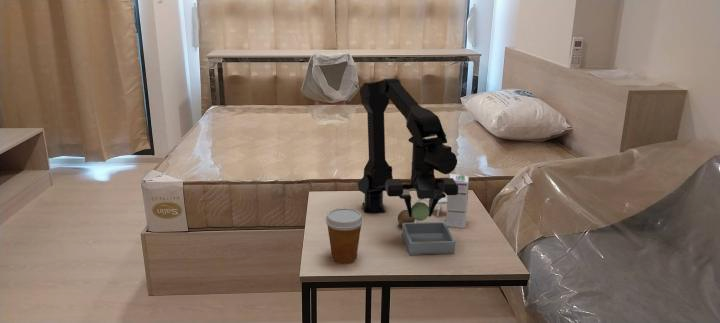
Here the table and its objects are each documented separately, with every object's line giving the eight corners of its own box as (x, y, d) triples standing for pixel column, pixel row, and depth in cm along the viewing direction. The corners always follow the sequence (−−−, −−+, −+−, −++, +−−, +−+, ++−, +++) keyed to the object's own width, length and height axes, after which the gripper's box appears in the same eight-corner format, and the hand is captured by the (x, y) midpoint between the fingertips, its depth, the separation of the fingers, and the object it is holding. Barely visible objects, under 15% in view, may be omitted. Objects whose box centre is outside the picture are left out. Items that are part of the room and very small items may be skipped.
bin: (401, 234, 150) (402, 222, 149) (443, 233, 151) (444, 221, 150) (409, 255, 139) (410, 243, 138) (454, 253, 140) (455, 241, 139)
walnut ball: (396, 222, 157) (396, 207, 155) (412, 222, 158) (413, 206, 156) (398, 230, 152) (399, 214, 151) (416, 229, 153) (416, 213, 151)
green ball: (408, 216, 147) (409, 199, 145) (426, 215, 147) (427, 199, 146) (412, 224, 142) (413, 207, 140) (430, 223, 142) (431, 206, 141)
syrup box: (465, 228, 154) (469, 181, 149) (444, 226, 155) (448, 180, 150) (465, 220, 159) (469, 174, 155) (445, 218, 160) (449, 173, 156)
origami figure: (451, 207, 168) (452, 193, 167) (455, 218, 161) (456, 203, 159) (413, 206, 169) (414, 192, 167) (415, 217, 161) (416, 202, 159)
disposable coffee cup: (335, 270, 131) (335, 226, 127) (319, 253, 139) (319, 211, 135) (369, 261, 135) (370, 218, 131) (352, 245, 143) (352, 204, 139)
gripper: (392, 173, 131) (389, 230, 136) (466, 172, 132) (461, 228, 138) (385, 158, 141) (384, 212, 146) (454, 157, 143) (450, 210, 148)
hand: (419, 216), depth 144 cm, fingers closed on green ball, 5 cm apart
